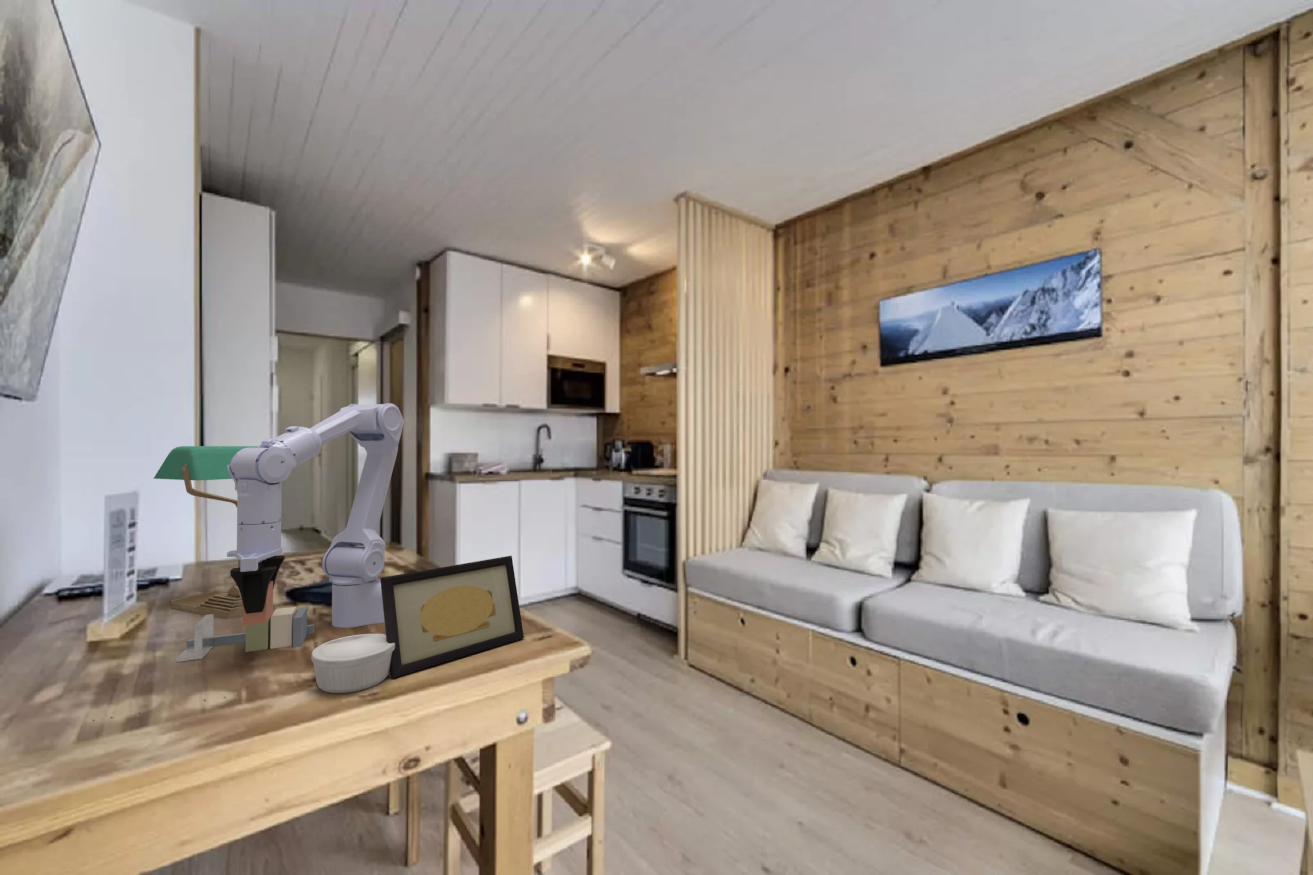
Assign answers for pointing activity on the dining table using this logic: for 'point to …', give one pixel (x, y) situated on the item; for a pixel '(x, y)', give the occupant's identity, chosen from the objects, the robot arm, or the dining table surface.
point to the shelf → (298, 632)
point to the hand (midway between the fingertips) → (258, 607)
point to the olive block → (258, 636)
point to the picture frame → (449, 612)
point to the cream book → (282, 627)
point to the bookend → (199, 640)
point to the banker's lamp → (209, 466)
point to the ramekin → (352, 662)
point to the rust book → (265, 614)
